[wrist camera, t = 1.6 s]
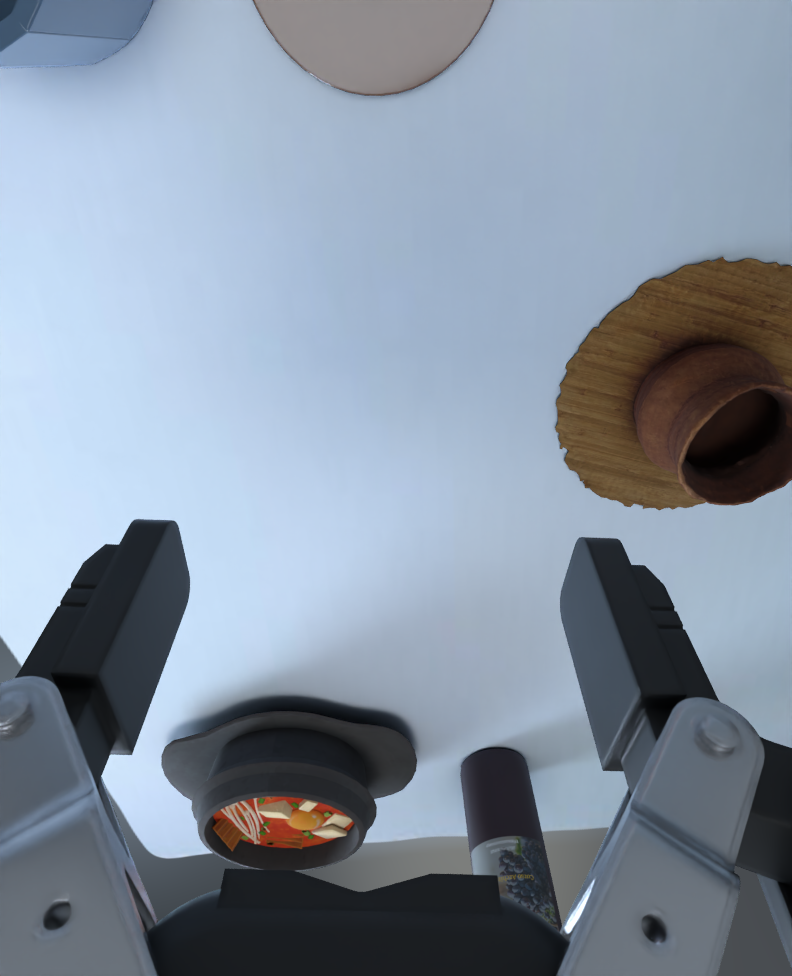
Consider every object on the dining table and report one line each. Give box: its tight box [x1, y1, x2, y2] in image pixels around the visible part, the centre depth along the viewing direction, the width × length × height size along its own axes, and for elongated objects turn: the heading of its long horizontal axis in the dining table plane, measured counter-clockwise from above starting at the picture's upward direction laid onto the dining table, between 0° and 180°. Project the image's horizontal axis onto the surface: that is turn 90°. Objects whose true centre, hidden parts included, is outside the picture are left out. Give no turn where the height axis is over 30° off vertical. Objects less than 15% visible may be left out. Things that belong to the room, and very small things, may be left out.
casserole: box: [162, 711, 417, 871], centre depth 58 cm, size 25×19×8 cm
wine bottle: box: [461, 749, 562, 932], centre depth 52 cm, size 7×7×30 cm
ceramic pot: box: [555, 257, 792, 510], centre depth 36 cm, size 18×18×7 cm
